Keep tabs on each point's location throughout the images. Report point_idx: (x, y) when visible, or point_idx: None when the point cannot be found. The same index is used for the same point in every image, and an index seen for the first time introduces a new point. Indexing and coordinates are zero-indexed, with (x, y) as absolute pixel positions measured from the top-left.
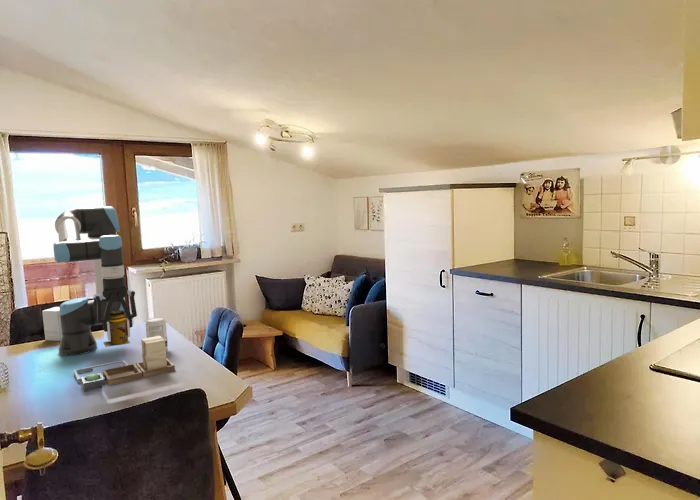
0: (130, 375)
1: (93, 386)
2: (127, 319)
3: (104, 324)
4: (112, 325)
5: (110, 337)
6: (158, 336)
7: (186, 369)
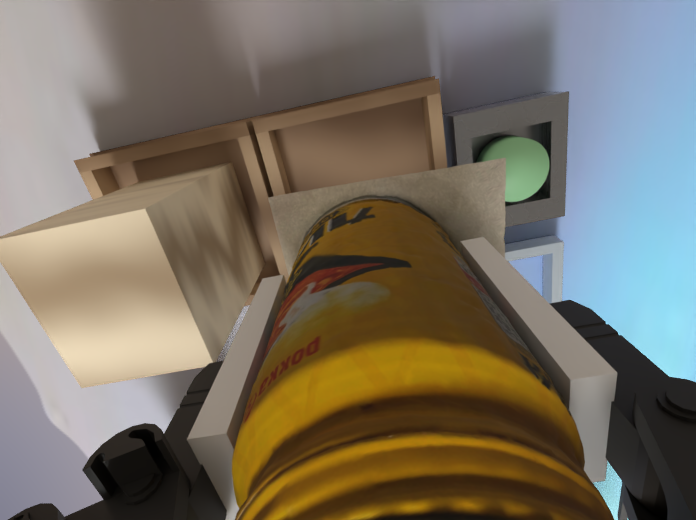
0: (315, 106)
1: (505, 102)
2: (225, 479)
3: (648, 378)
4: (496, 321)
5: (472, 252)
6: (84, 368)
7: (54, 188)
